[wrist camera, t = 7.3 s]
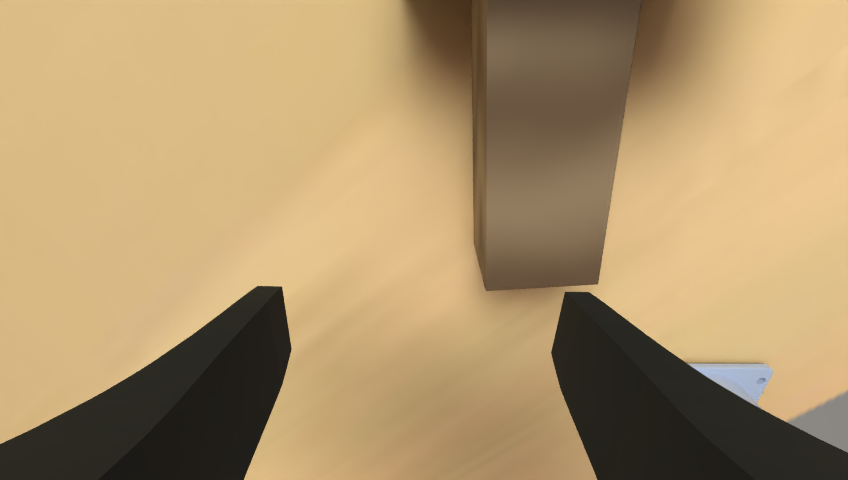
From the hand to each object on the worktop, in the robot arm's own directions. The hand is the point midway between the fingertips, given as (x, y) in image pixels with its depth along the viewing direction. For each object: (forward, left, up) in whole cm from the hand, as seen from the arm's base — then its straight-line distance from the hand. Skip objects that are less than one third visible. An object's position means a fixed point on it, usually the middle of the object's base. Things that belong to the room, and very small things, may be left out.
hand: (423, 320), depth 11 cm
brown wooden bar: (+4, -4, -10) cm, 12 cm away
